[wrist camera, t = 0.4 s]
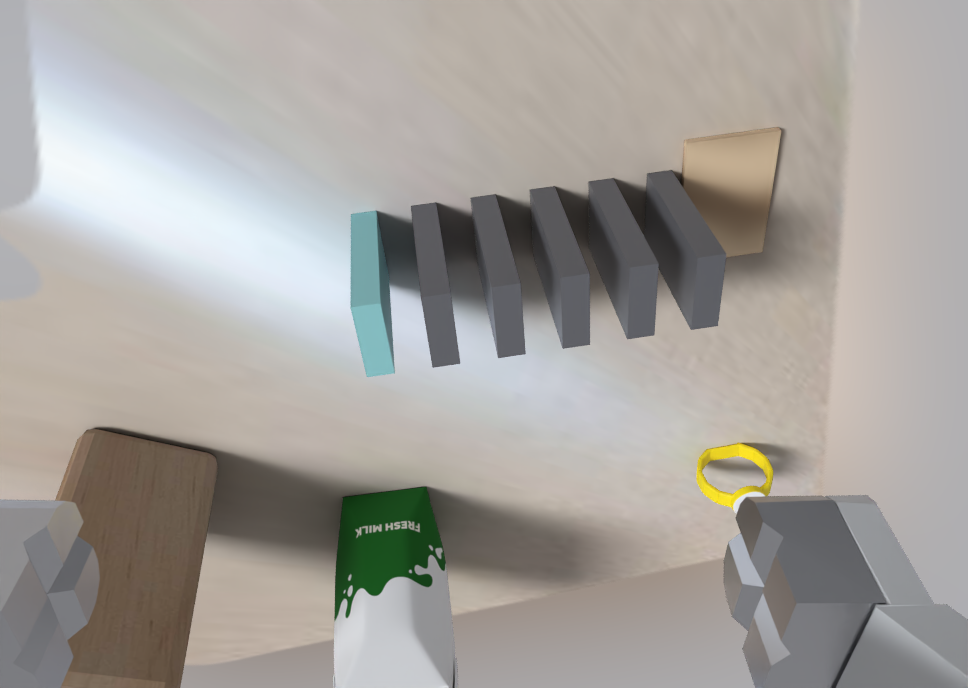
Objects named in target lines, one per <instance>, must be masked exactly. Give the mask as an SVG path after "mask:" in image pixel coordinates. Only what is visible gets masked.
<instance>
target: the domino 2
mask: <svg viewBox="0 0 968 688" xmlns="http://www.w3.org/2000/svg"><path fill="white" fill-rule="evenodd" d="M411 211H412V220H413V229H414V238H415V247H416V256H417V265H418V274H419V283H420V292H421V300H422V306H423V312H424V318H425V324H426V330H427V336H428V342H429V348H430V354H431V360H432V367H440V366H447V365H454V364H460V358H459V351H458V344H457V336H456V329H455V322H454V314H453V307H452V300H451V292H450V286H449V280H448V274H447V267H446V261H445V255H444V249H443V243H442V236H441V230H440V224H439V218H438V211H437V205H436V203H429V204H422V205H415V206H411Z"/></svg>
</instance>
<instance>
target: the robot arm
mask: <svg viewBox="0 0 968 688" xmlns="http://www.w3.org/2000/svg"><path fill="white" fill-rule="evenodd" d="M736 521H737V523H738V526H739V529H740V532H741V533H740V534H738V535H737V536H736V537H735V538H733V539H732V540H731V541H729V542H728V546H727V550H726V554H725V558H724V587H725V592H726V598H727V602H728V605H729V608H730V611H731V615H732V617H733V618H734V619H735V620H736V621H737V622H738V623H740V624H741V625H742V626H743V627H744V628H745V629H746V630H747V631H748V634H747V637H746V640H745V643H744V646H743V652H744V655H745V658H746V661H747V664H748V667H749V670H750V673H751V676H752V679H753V682H754V685H755V688H968V619H966V618H965V617H963V616H962V615H961V614H959V613H958V612H956V611H955V610H954V609H952V608H951V607H950V606H948V605H947V604H946V605H945V604H934V603H933V601H932V599H931V597H930V596H929V594H928V592H927V590H926V589H925V587H924V585H923V584H922V582H921V580H920V578H919V577H918V575H917V573H916V572H915V570H914V568H913V566H912V564H911V563H910V561H909V559H908V558H907V556H906V554H905V552H904V551H903V549H902V547H901V545H900V544H899V542H898V540H897V538H896V537H895V535H894V533H893V532H892V530H891V528H890V526H889V525H888V523H887V521H886V520H885V518H884V516H883V514H882V512H881V511H880V509H879V507H878V506H877V504H876V502H875V501H874V500H872V499H871V498H870V497H869V496H867V495H852V496H851V495H848V496H825V497H824V496H763V497H746V498H745V499H744V500H743V501H742V502H741V503H740V506H739V509H738V512H737V515H736ZM83 522H84V521H83V519H82V517H81V515H80V512H79V510H78V508H77V506H76V503H73V502H68V501H47V500H0V688H61V685H62V683H63V681H64V678H65V676H66V674H67V671H68V669H69V667H70V664H71V662H72V660H73V657H74V656H73V654H72V651H71V648H70V646H69V643H68V639H70V638H71V637H72V636H73V635H74V634H76V633H77V632H78V631H79V630H80V629H82V628H83V627H84V626H85V625H87V624H88V621H89V619H90V616H91V614H92V611H93V609H94V606H95V604H96V600H97V593H98V587H99V581H100V574H99V565H98V559H97V556H96V553H95V551H94V548H93V546H91V545H90V544H89V543H87V542H86V541H84V540H83V539H82V538H80V537H79V536H77V535H78V533H79V531H80V528H81V526H82V524H83Z"/></svg>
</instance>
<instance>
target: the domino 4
mask: <svg viewBox="0 0 968 688" xmlns="http://www.w3.org/2000/svg"><path fill="white" fill-rule="evenodd" d="M530 204H531V222H532V240H533V256H534V259H535V262H536V266H537V269H538V272H539V275H540V278H541V281H542V285H543V288H544V291H545V294H546V297H547V300H548V304H549V307H550V310H551V313H552V316H553V319H554V323H555V326H556V329H557V332H558V335H559V338H560V342H561V345H562V348H563V349H564V348H570V347H577V346H584V345H590V273H589V271H588V268H587V266H586V263H585V261H584V258H583V256H582V253H581V251H580V248H579V246H578V243H577V241H576V238H575V236H574V233H573V231H572V228H571V226H570V223H569V221H568V218H567V216H566V214H565V211H564V209H563V206H562V204H561V201H560V199H559V196H558V194H557V191H556V189H555V186H553V187H546V188H538V189H531V190H530Z"/></svg>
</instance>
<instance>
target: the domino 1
mask: <svg viewBox="0 0 968 688" xmlns="http://www.w3.org/2000/svg"><path fill="white" fill-rule="evenodd" d="M351 311H352V315H353V320H354V324H355V328H356V333H357V337H358V341H359V345H360V350H361V354H362V358H363V362H364V367H365V371H366V375H367V377H372V376H379V375H385V374H392V373H395V369H394V353H393V337H392V320H391V304H390V287H389V275H388V269H387V264H386V259H385V254H384V248H383V243H382V238H381V233H380V228H379V222H378V217H377V212H376V211H371V212H364V213H356V214H351Z"/></svg>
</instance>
